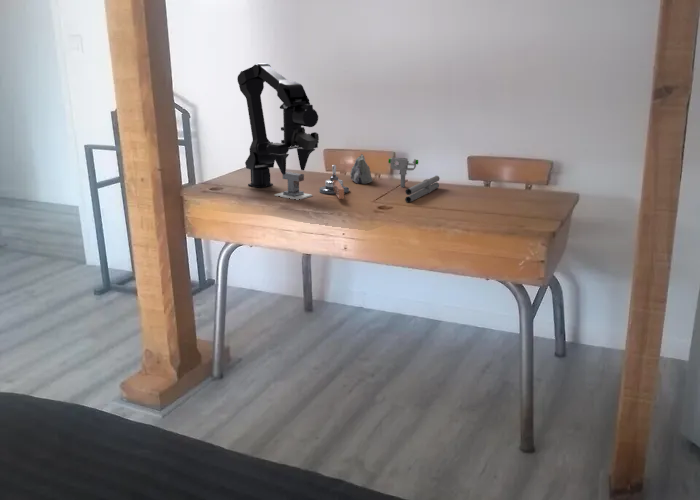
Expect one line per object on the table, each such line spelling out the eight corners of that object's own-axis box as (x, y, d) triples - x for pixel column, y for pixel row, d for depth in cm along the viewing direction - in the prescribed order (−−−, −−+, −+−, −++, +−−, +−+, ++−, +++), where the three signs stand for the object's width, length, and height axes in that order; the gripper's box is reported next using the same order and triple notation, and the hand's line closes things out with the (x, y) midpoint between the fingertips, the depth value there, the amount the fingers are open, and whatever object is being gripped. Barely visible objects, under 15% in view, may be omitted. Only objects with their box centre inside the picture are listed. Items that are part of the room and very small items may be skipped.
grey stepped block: (281, 194, 231) (280, 173, 229) (290, 191, 235) (289, 171, 233) (297, 197, 227) (296, 175, 225) (305, 194, 231) (305, 173, 229)
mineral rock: (355, 176, 264) (355, 149, 261) (382, 178, 260) (382, 151, 257) (341, 182, 253) (341, 155, 250) (369, 185, 249) (369, 157, 246)
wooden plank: (324, 186, 240) (324, 163, 238) (341, 185, 241) (341, 163, 239) (332, 199, 222) (332, 175, 219) (350, 198, 223) (350, 174, 220)
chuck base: (313, 191, 238) (313, 188, 237) (331, 187, 245) (331, 184, 245) (336, 195, 232) (336, 193, 231) (354, 190, 239) (354, 188, 239)
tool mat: (274, 195, 231) (274, 194, 231) (289, 192, 237) (289, 190, 237) (297, 200, 226) (297, 198, 225) (312, 196, 231) (312, 194, 231)
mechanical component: (416, 188, 244) (417, 159, 241) (387, 187, 246) (388, 158, 243) (417, 186, 247) (418, 158, 244) (388, 185, 249) (389, 157, 246)
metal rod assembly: (411, 204, 223) (412, 188, 222) (403, 203, 224) (404, 187, 223) (440, 189, 245) (441, 174, 243) (433, 188, 246) (433, 174, 245)
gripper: (291, 129, 212) (292, 179, 217) (330, 123, 227) (330, 171, 231) (265, 126, 219) (266, 175, 224) (304, 120, 233) (305, 167, 238)
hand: (293, 172), depth 229 cm, fingers open, 9 cm apart
